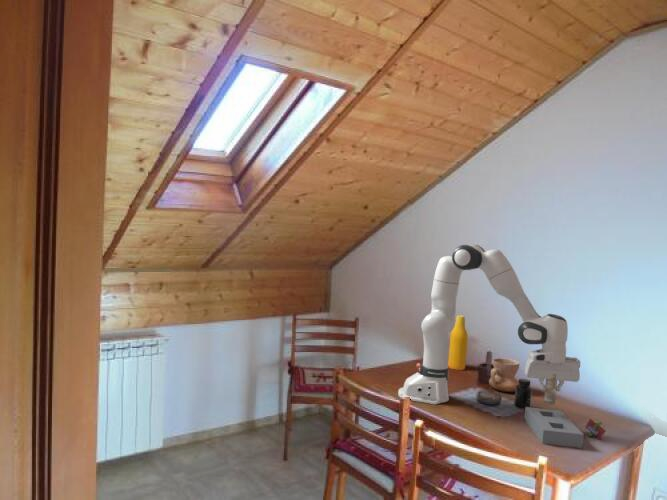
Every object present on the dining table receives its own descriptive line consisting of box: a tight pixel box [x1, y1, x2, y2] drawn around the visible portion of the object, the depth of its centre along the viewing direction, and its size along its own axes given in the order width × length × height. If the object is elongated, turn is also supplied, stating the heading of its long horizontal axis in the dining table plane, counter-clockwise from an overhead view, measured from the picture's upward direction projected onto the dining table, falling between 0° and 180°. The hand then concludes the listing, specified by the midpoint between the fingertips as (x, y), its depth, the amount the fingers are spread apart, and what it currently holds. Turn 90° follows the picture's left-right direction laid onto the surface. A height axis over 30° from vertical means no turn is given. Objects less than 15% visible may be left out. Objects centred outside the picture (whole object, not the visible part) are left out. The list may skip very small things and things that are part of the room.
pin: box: [543, 374, 558, 405], centre depth 200 cm, size 4×4×12 cm
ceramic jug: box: [488, 357, 521, 393], centre depth 245 cm, size 18×14×14 cm
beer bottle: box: [448, 314, 468, 371], centre depth 278 cm, size 9×9×29 cm
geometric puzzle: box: [585, 418, 606, 441], centre depth 193 cm, size 7×7×8 cm
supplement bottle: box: [513, 378, 533, 410], centre depth 222 cm, size 7×7×12 cm
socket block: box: [524, 406, 585, 449], centre depth 195 cm, size 14×24×5 cm, turn 174°
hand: (550, 390), depth 200 cm, fingers closed on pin, 4 cm apart
